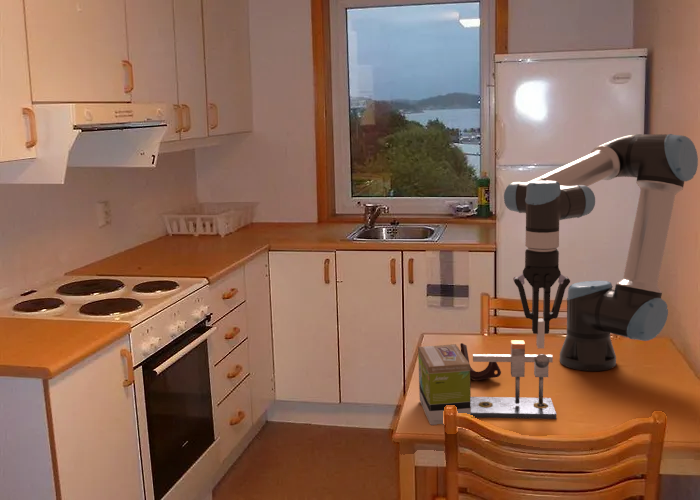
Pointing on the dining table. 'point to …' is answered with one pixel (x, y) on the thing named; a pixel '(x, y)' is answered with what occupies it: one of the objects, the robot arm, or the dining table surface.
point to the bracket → (485, 373)
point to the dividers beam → (539, 361)
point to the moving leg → (517, 364)
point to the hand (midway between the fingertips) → (540, 346)
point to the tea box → (443, 381)
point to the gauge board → (512, 408)
